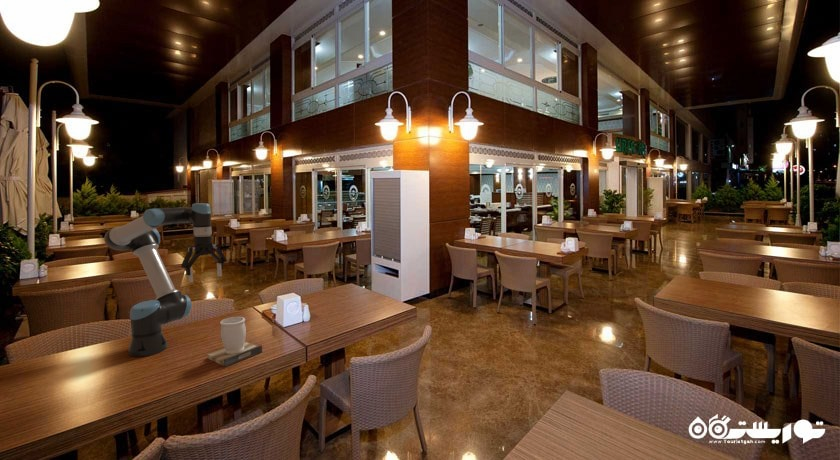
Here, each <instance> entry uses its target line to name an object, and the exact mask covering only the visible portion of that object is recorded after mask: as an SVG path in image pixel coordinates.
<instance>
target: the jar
mask: <svg viewBox="0 0 840 460" xmlns="http://www.w3.org/2000/svg"><path fill="white" fill-rule="evenodd" d="M245 322H246V318H245V317H243V316H230V317H227V318H223V319H222V320H220V322H219V323H220V325H221V327H220V337H221V340H222V341H221V342H222V346H223V348H225V351H224V352H225V353H226V354H236V353H239V352H242V351H243V350H244V347H243V345H244V343H245V342H246V336H247V335H246V334H247V330H246V329H247V328H246V324H245Z"/></svg>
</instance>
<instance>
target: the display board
mask: <svg viewBox="0 0 840 460" xmlns="http://www.w3.org/2000/svg"><path fill="white" fill-rule="evenodd" d="M243 347H244V350H243V351H242V352H239V353H236V354H226V353H225V352H224V351H225V348H224V347H223V348H221V349H218V350H215V351H213V352H209V353H207V354H206V358H207V359H208V360H210V361H213V362H214V363H216V364H219V365H221V366H223V367H225V368H226V367H229V366H231V365H233V364H236V363H238V362H241V361H243V360H246V359H248V358H252V357H253V356H256V355H258V354H261V353H262V352H263V345H261V344H259V345H255V344H252V343H250V342H247V341H245V343H244V345H243Z"/></svg>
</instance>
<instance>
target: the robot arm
mask: <svg viewBox="0 0 840 460" xmlns="http://www.w3.org/2000/svg"><path fill="white" fill-rule="evenodd" d="M188 223H189V224H192V228H193V235H194V236H193V244H194V246H193V247H191V246H188V247H187V249H186V253H185V255H184V257H183V261H182V262H181V265H180V267H181V268H182V269H185V275H186V276H187V278H188V283H194V274H193V271H194V270H193V268H192V266H193V265H194V264H195V262H196V261H197V259H199V257H201V256H206V255H207V256H208V255H210V257H212V258H213V259H214V260H215V261H217V263H216V273H217V277H223V276H222V275H223V273H222V271H223V269H224V263H225V262H226V261H227V258H226V257H225V254H224V253H223V251H222V250H221V247H220V244H219V243H214V244H213V236H212V235H213V233H212V232H213V231H212V230H213V229H212V211H211V205H210V204H209V203H207V202H205V203H203V202H201V203H192V205H191V207H190V206H189V207H187V206H179V207H167V208H166V207H164V208H163V207H161V208H159V207H158V208H155V207H154V208H149V209H145V211H144V212H143V215H142V216H140V217H138V218H136V219H134V220H132V221H130V222H128V223H126V224H124V225H122V226H121V225H120V226H115V227H113V228H111V229H109V230H108V231H107V232H106V233H105V235H104V238H103V239H104V241H103V242H104V243H105V245H106V246H107V247H108V248H110V249H112V250H115V251H121V252H123V251H131V252H132V255H133V256H137V257H138V258H139V262H140V263H141V266H142V268H143V270H144V272H145V274H146V277H147V279H148V280H149V283H150V286H151V287H152V289H153V291H154V293H155V296H156V298H155V299H149V300H145V301H141V302H138V303H137V304H134V305H133V306H132V307H131V308H130V311H129V319H130V329H131V341H130V343H129V347H128V350H127V351H128V356H130V357H134V358H136V357H137V358H139V357H146V356H147V357H148V356H152V355H155V354H159V353H161V352H163V351H165V350H166V349H167V347H168V342H167V340H166V338H165V336H164V334H163V332H162V326H163V325H166V324H170V323H172V322H175V321H178V320H181V319H183V318H186V317H187V316H189V315H190V313H191V310H192V300H191V298H190V297H189V295H186V294H182V291H181V290H179V289H176V287H175V286H174V283H173V281H172V279H171V277H170V275H169V273H168V271H167V268H166V266H165V264H164V262H163V259H162V257H161V255H160V253H159V251H158V249H159V247H160V242H161V239H160V238H161V235H160V233H159V231H158V229H157V228H159V227H162V226H165V225H173V224H174V225H175V224H188ZM213 249H214V250H215V252H216V253H215V252H214V251H213ZM194 251H195V252H194ZM193 252H194V253H193ZM192 254H193V255H192Z"/></svg>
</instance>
